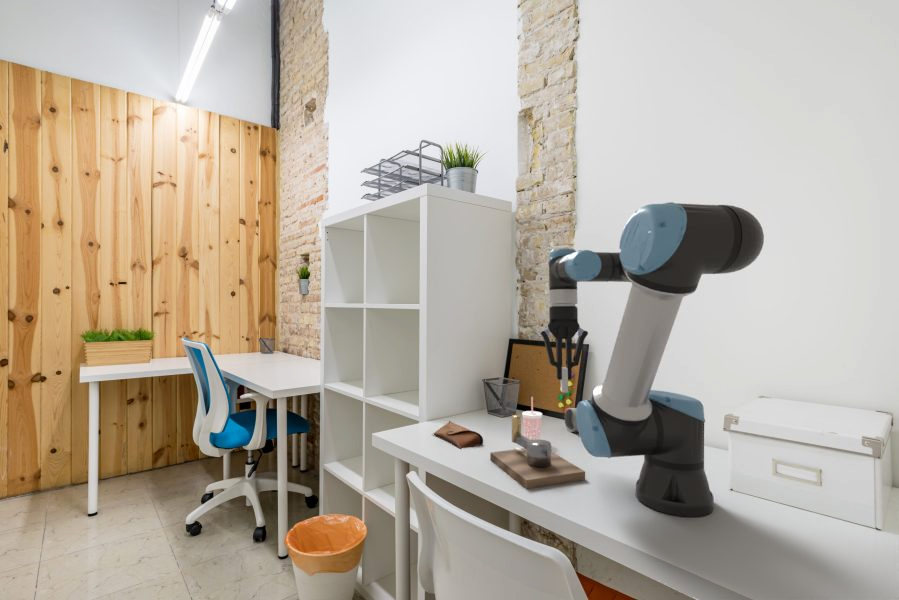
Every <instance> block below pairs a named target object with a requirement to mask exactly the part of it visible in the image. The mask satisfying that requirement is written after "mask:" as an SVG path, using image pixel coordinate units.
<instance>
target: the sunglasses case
mask: <svg viewBox="0 0 899 600" xmlns="http://www.w3.org/2000/svg"><path fill="white" fill-rule="evenodd" d="M432 434H434V435H436V436H435V437H437V436H438V437H437V438H439V437H440V438H439V439H441V438H442V439H441V440H443V439H444V440H443V441H445V440H446V442H447V441H448V442H447V443H449V442H450V443H449V444H451V443H452V445H453V446H455V447H457V448H458V449H461V450H463V449H467V448H471V447H472V448H473V447H477V446H480V445H481V446H482V445H483V443H484V437H483V436H482V435H481V433H479V432H476V431H475V430H470V429H469V428H467V427H464V426H462V425H460V424H457V423H455V422H452V421H451V420H449V421H448V422H447V423H445V424H444V425H443V426H441V427H440V428H438V430H436V431H435V432H433V433H432ZM434 435H433V436H434ZM462 448H463V449H462Z"/></svg>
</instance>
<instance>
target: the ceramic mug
mask: <svg viewBox="0 0 899 600" xmlns="http://www.w3.org/2000/svg"><path fill="white" fill-rule="evenodd" d="M576 410H577V407H575V408H574V407H568V408H567V409H566V410H565V413H564V424H565V427H566V429H567V431H568V432H570V433H577V432H578V433H579V431H578V427H577V420H576Z"/></svg>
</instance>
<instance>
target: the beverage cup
mask: <svg viewBox="0 0 899 600" xmlns="http://www.w3.org/2000/svg"><path fill="white" fill-rule="evenodd" d="M530 399H531V400H530V401H531V402H530V403H531V407H530V409H531V410H526V411H522V413H521V417H522V421H523V423H522V424H523V436H524V437H526V438H528V439H530V440H535V439H539V440H541V430H542V427H541V426H542V418H543V413H542V412H541V411H536V410H534V397H533V396H531V397H530Z"/></svg>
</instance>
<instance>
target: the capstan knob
mask: <svg viewBox="0 0 899 600" xmlns="http://www.w3.org/2000/svg"><path fill="white" fill-rule="evenodd" d="M511 443H514V444H516V445H519V446H520V447H521V448H525V449H527V463H528V464H529V465H531V466H534V467H548V466H550V465H551V452H552V443H551V442H550V441H548V440H545V439H540V440H539V439H535V440H530V439H528V438H526V437H524V435H523V434H522V415H520V414H512V415H511Z"/></svg>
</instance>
